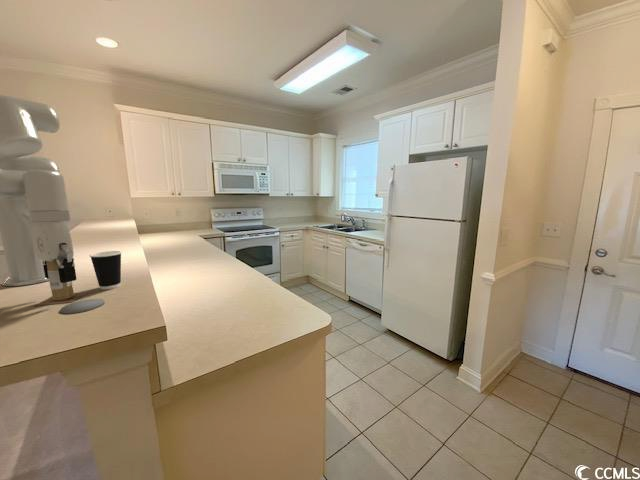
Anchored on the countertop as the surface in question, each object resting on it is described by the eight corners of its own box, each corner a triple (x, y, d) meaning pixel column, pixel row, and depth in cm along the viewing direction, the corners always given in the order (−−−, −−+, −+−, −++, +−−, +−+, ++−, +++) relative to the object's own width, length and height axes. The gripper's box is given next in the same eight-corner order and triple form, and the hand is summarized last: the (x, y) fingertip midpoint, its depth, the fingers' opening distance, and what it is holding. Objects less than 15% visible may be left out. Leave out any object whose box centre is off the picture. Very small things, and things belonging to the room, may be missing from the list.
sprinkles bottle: (78, 295, 75) (71, 250, 73) (59, 301, 70) (51, 253, 68) (67, 294, 76) (60, 249, 74) (47, 300, 72) (39, 252, 70)
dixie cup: (87, 290, 80) (82, 255, 78) (111, 282, 88) (106, 250, 86) (109, 291, 79) (105, 256, 77) (132, 283, 87) (128, 251, 85)
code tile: (55, 295, 76) (55, 294, 76) (88, 292, 78) (88, 291, 78) (35, 306, 68) (34, 305, 68) (72, 302, 71) (72, 301, 71)
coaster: (73, 302, 70) (73, 300, 70) (110, 299, 73) (110, 297, 73) (52, 315, 63) (52, 313, 62) (94, 311, 65) (94, 309, 65)
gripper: (18, 218, 70) (29, 279, 73) (43, 219, 62) (55, 287, 65) (55, 216, 77) (65, 272, 79) (83, 217, 69) (92, 279, 71)
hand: (60, 279), depth 72 cm, fingers open, 9 cm apart
